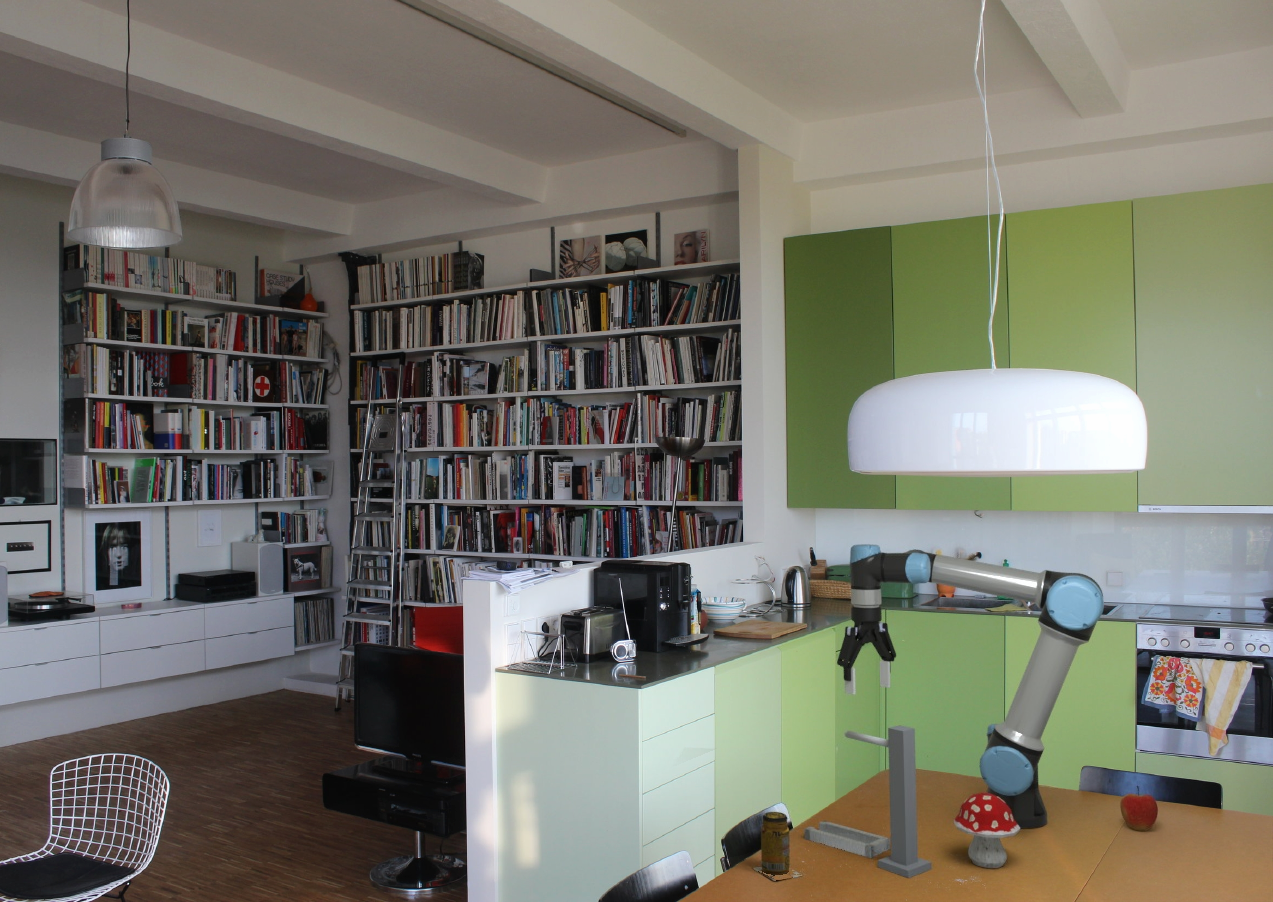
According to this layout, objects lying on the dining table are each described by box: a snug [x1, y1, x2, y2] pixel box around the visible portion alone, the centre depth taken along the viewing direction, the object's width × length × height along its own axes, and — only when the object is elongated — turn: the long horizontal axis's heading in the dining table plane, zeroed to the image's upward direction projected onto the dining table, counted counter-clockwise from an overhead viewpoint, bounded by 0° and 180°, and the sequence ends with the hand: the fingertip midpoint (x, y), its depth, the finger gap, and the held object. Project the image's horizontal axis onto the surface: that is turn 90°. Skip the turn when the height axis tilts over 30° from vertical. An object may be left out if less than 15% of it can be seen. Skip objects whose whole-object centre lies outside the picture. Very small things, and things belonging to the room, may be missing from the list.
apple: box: [1119, 785, 1159, 832], centre depth 237 cm, size 8×8×10 cm
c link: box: [803, 820, 891, 859], centre depth 229 cm, size 8×2×18 cm
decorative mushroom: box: [953, 792, 1021, 869], centre depth 216 cm, size 14×14×15 cm
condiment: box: [752, 811, 803, 882], centre depth 212 cm, size 7×8×12 cm
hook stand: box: [844, 725, 932, 879], centre depth 219 cm, size 20×8×30 cm, turn 38°
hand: (868, 690), depth 249 cm, fingers open, 13 cm apart
